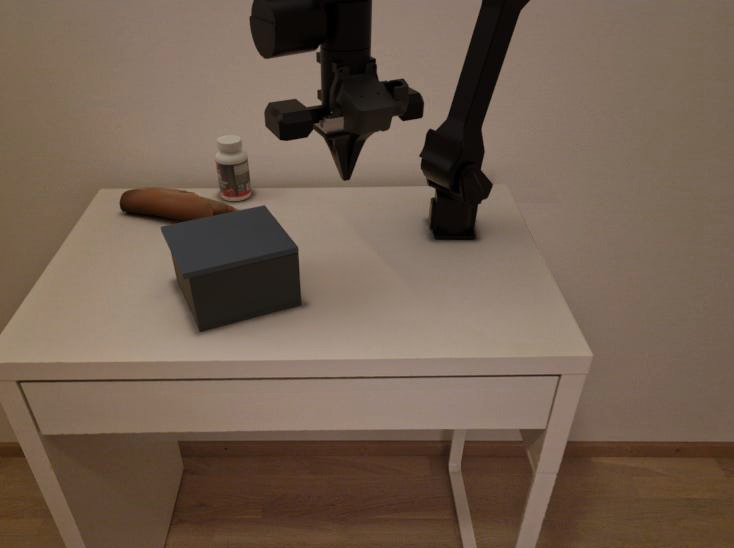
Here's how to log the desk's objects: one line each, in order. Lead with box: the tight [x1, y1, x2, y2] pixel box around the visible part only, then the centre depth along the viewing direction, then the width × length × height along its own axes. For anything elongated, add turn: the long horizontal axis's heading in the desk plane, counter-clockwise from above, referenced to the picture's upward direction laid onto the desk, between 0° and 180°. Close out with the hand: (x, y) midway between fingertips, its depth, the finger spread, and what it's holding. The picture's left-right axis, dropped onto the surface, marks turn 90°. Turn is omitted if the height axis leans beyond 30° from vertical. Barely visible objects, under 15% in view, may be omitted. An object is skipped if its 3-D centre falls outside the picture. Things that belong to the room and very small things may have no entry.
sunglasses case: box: [119, 187, 239, 222], centre depth 97 cm, size 18×7×7 cm, turn 69°
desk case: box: [170, 252, 303, 333], centre depth 77 cm, size 14×13×8 cm
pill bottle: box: [214, 134, 252, 202], centre depth 100 cm, size 5×5×10 cm
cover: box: [160, 204, 299, 279], centre depth 74 cm, size 14×13×1 cm
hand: (345, 179), depth 76 cm, fingers closed
